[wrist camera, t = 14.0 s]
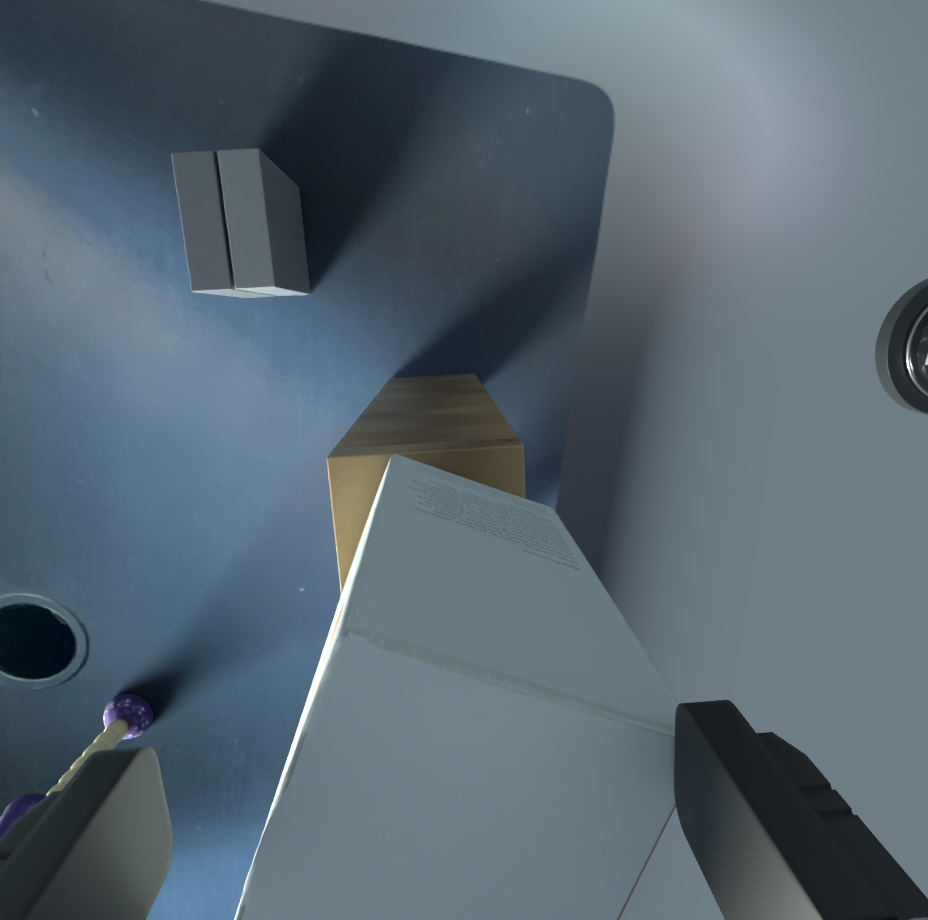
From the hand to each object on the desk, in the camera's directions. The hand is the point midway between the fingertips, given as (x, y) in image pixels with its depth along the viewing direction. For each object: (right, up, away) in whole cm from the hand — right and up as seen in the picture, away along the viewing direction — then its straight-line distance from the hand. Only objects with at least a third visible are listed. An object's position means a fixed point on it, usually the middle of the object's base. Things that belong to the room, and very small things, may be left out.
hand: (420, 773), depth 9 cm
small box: (0, +1, +13) cm, 14 cm away
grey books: (-14, +22, +39) cm, 47 cm away
